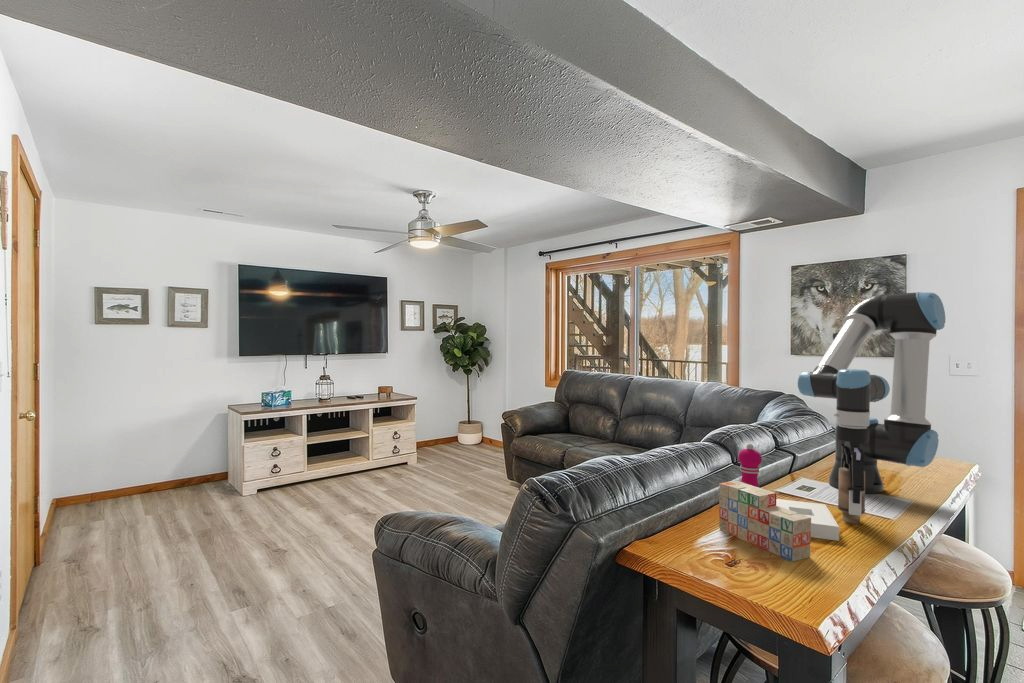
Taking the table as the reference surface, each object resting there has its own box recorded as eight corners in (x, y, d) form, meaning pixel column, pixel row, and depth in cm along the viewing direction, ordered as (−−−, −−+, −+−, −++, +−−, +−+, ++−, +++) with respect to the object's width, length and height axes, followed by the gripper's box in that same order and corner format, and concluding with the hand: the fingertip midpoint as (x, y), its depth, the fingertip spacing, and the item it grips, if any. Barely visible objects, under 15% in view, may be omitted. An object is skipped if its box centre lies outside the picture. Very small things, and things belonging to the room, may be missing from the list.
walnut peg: (861, 519, 140) (862, 468, 140) (867, 526, 134) (868, 474, 134) (835, 516, 142) (836, 466, 142) (840, 523, 137) (841, 471, 136)
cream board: (824, 516, 141) (825, 504, 141) (839, 540, 125) (839, 526, 125) (768, 510, 147) (769, 498, 147) (775, 532, 130) (775, 518, 130)
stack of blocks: (811, 558, 115) (812, 504, 115) (792, 562, 113) (793, 507, 113) (736, 525, 135) (736, 479, 135) (718, 529, 133) (718, 482, 132)
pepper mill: (766, 519, 139) (767, 447, 139) (738, 517, 140) (739, 445, 140) (759, 510, 146) (760, 441, 146) (732, 508, 148) (733, 440, 147)
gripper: (828, 419, 149) (827, 497, 149) (844, 431, 130) (843, 520, 130) (859, 421, 146) (858, 500, 146) (880, 433, 127) (878, 524, 127)
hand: (851, 509), depth 138 cm, fingers open, 8 cm apart
